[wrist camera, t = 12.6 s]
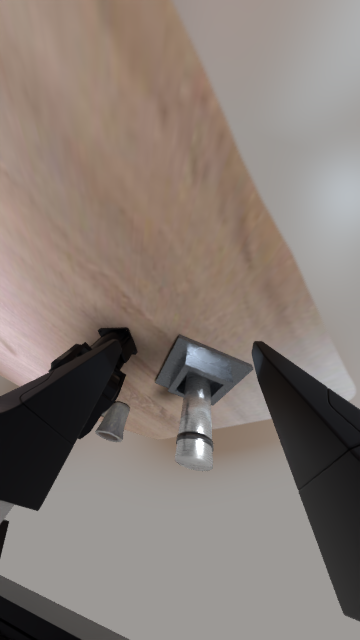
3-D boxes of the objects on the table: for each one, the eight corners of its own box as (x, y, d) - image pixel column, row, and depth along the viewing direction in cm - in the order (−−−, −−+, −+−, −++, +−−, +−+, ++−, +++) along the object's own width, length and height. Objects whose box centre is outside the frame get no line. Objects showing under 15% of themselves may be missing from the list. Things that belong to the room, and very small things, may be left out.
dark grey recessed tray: (156, 379, 33) (151, 393, 30) (179, 334, 25) (176, 347, 22) (212, 401, 34) (213, 417, 31) (251, 364, 26) (257, 381, 23)
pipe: (94, 392, 41) (71, 423, 34) (135, 403, 40) (120, 436, 33) (97, 403, 44) (77, 433, 37) (135, 413, 43) (122, 445, 37)
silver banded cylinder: (187, 384, 30) (177, 466, 19) (184, 367, 28) (170, 452, 17) (211, 385, 29) (214, 473, 18) (210, 368, 27) (213, 459, 16)
